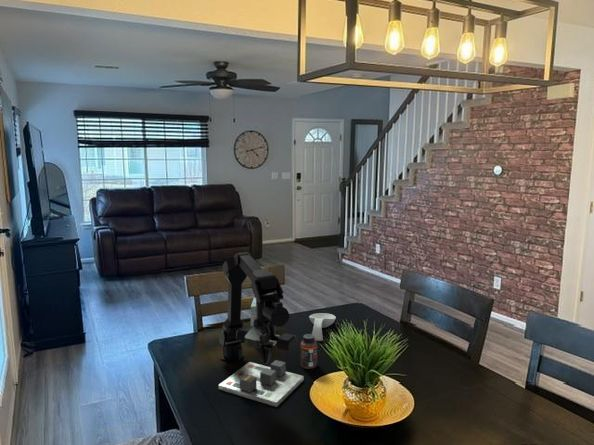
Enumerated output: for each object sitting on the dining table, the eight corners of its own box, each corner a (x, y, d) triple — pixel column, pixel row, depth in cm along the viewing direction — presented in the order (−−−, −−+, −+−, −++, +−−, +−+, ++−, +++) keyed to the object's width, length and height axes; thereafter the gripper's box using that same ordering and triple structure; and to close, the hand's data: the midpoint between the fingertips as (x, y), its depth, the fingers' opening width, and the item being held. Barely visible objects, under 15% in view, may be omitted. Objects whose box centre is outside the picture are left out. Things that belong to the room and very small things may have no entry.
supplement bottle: (315, 370, 158) (315, 340, 156) (299, 368, 159) (299, 338, 157) (318, 362, 164) (318, 333, 162) (302, 361, 165) (302, 332, 163)
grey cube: (240, 389, 143) (239, 378, 142) (246, 384, 146) (245, 373, 145) (250, 392, 141) (250, 381, 140) (256, 387, 144) (256, 376, 143)
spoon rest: (311, 319, 206) (311, 304, 205) (336, 320, 204) (336, 305, 203) (303, 340, 183) (303, 324, 182) (332, 342, 181) (332, 326, 180)
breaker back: (270, 373, 152) (270, 364, 152) (275, 369, 155) (275, 360, 155) (280, 376, 150) (280, 366, 150) (285, 372, 153) (285, 362, 153)
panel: (218, 389, 146) (218, 384, 146) (249, 365, 162) (249, 361, 161) (276, 407, 136) (276, 402, 135) (303, 380, 151) (303, 375, 151)
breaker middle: (260, 382, 147) (260, 372, 146) (265, 377, 150) (265, 368, 149) (270, 385, 145) (270, 375, 144) (276, 380, 148) (276, 370, 147)
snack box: (263, 341, 182) (263, 306, 179) (250, 341, 182) (249, 306, 179) (267, 321, 203) (267, 290, 200) (255, 321, 203) (254, 289, 200)
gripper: (224, 318, 133) (226, 367, 136) (278, 330, 124) (279, 382, 127) (245, 307, 143) (247, 352, 145) (297, 317, 134) (297, 365, 137)
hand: (266, 363), depth 138 cm, fingers closed
